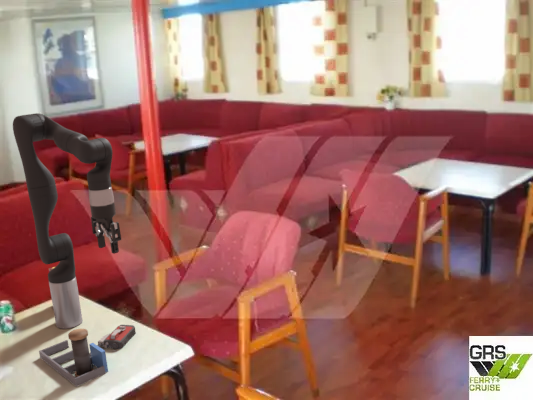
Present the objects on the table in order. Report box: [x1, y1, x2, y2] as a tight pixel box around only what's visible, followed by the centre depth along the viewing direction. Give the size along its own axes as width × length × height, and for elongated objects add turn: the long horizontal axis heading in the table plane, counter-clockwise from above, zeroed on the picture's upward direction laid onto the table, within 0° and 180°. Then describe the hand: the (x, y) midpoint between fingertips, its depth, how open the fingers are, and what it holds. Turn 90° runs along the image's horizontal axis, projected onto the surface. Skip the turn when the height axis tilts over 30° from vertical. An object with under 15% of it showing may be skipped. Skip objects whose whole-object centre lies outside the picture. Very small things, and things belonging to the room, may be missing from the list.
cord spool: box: [67, 328, 94, 377], centre depth 190 cm, size 6×6×14 cm
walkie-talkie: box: [89, 324, 136, 357], centre depth 209 cm, size 9×4×20 cm
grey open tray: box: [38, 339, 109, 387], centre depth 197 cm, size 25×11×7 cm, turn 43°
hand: (108, 250), depth 204 cm, fingers open, 8 cm apart
